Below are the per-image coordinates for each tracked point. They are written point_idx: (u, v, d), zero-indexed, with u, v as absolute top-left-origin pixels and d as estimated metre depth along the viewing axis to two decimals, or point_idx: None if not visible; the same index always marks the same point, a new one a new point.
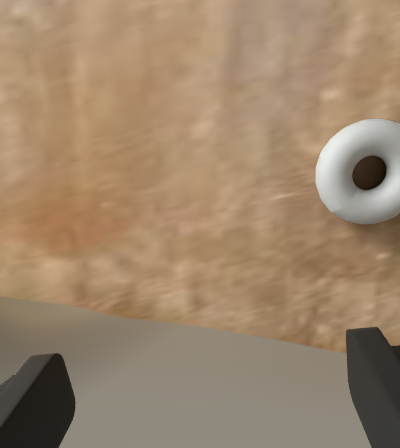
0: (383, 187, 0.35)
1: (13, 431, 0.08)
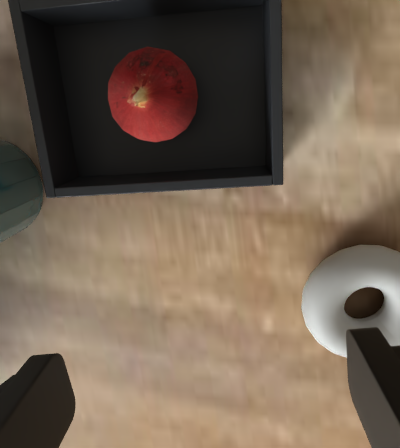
0: (386, 294, 0.29)
1: (13, 431, 0.08)
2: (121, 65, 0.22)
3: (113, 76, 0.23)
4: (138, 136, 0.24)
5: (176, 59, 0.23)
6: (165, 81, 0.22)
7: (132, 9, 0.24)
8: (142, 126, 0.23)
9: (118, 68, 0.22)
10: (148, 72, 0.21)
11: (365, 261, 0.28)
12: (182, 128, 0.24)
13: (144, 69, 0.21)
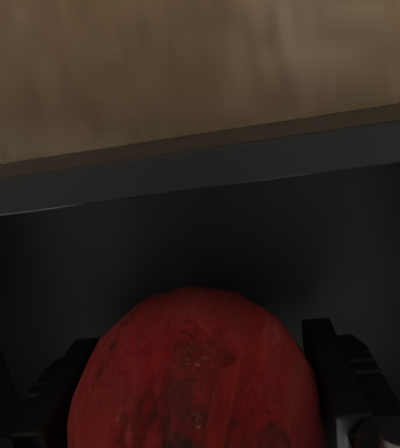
0: None
1: (68, 407, 0.09)
2: (100, 412, 0.07)
3: (77, 441, 0.07)
4: None
5: (271, 365, 0.07)
6: None
7: None
8: None
9: (90, 423, 0.07)
10: None
11: None
12: None
13: None
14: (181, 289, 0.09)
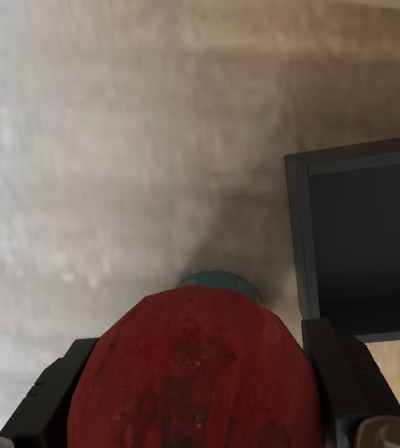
0: None
1: (69, 407, 0.09)
2: (100, 412, 0.07)
3: (77, 440, 0.07)
4: None
5: (271, 364, 0.07)
6: None
7: None
8: None
9: (90, 422, 0.07)
10: None
11: None
12: None
13: None
14: (181, 288, 0.09)
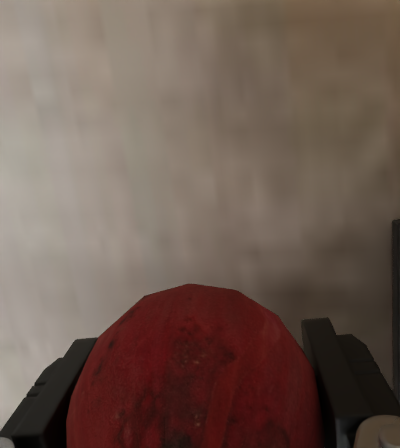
0: None
1: None
2: (99, 410, 0.07)
3: (76, 439, 0.07)
4: None
5: (270, 363, 0.07)
6: None
7: None
8: None
9: (89, 421, 0.07)
10: None
11: None
12: None
13: None
14: (180, 287, 0.09)
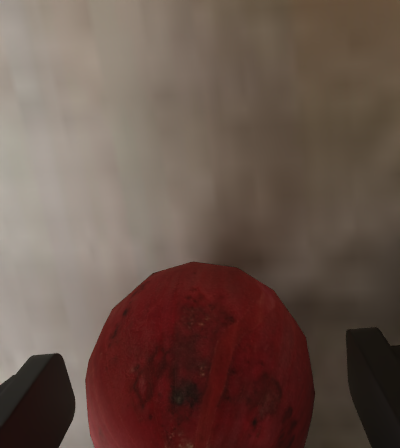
0: None
1: (13, 431, 0.08)
2: (116, 366, 0.08)
3: (96, 392, 0.08)
4: None
5: (266, 327, 0.08)
6: (254, 447, 0.07)
7: None
8: None
9: (107, 376, 0.08)
10: (202, 435, 0.07)
11: None
12: None
13: (189, 423, 0.07)
14: (186, 264, 0.10)
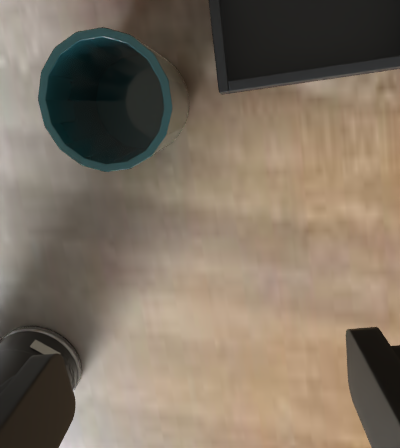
0: None
1: (13, 431, 0.08)
2: None
3: None
4: None
5: None
6: None
7: None
8: None
9: None
10: None
11: None
12: None
13: None
14: None
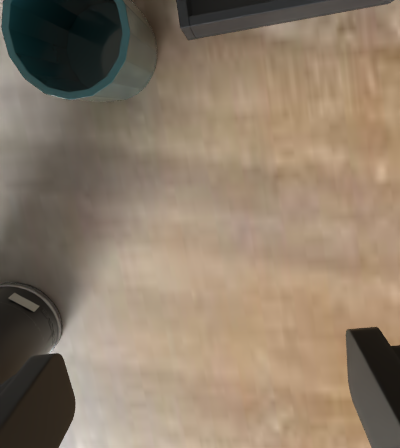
0: None
1: (13, 431, 0.08)
2: None
3: None
4: None
5: None
6: None
7: None
8: None
9: None
10: None
11: None
12: None
13: None
14: None
